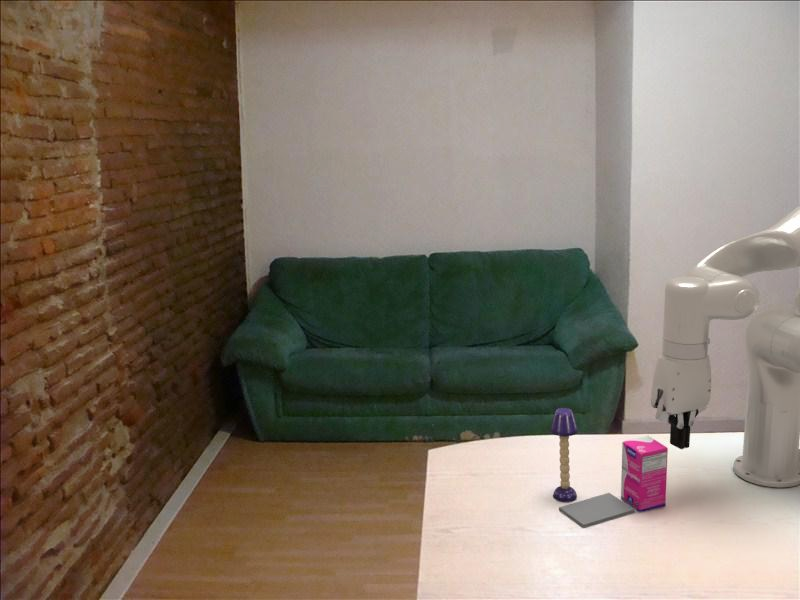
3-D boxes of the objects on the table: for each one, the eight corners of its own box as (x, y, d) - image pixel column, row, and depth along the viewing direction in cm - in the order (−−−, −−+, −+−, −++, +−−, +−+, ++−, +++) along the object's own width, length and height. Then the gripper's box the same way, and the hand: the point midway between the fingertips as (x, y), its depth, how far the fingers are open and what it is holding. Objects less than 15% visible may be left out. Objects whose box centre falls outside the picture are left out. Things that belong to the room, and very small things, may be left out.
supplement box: (619, 499, 157) (621, 440, 154) (646, 492, 159) (649, 434, 156) (638, 513, 152) (641, 452, 149) (667, 506, 153) (669, 446, 151)
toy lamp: (547, 499, 157) (548, 413, 153) (554, 488, 162) (555, 404, 157) (573, 504, 156) (575, 417, 151) (579, 492, 160) (581, 407, 155)
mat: (609, 495, 158) (609, 492, 158) (634, 512, 152) (635, 509, 152) (559, 510, 154) (559, 507, 153) (583, 528, 147) (583, 524, 147)
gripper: (701, 336, 158) (695, 430, 162) (636, 349, 152) (632, 446, 156) (733, 347, 151) (726, 444, 156) (666, 361, 145) (661, 462, 150)
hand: (679, 445), depth 156 cm, fingers closed
